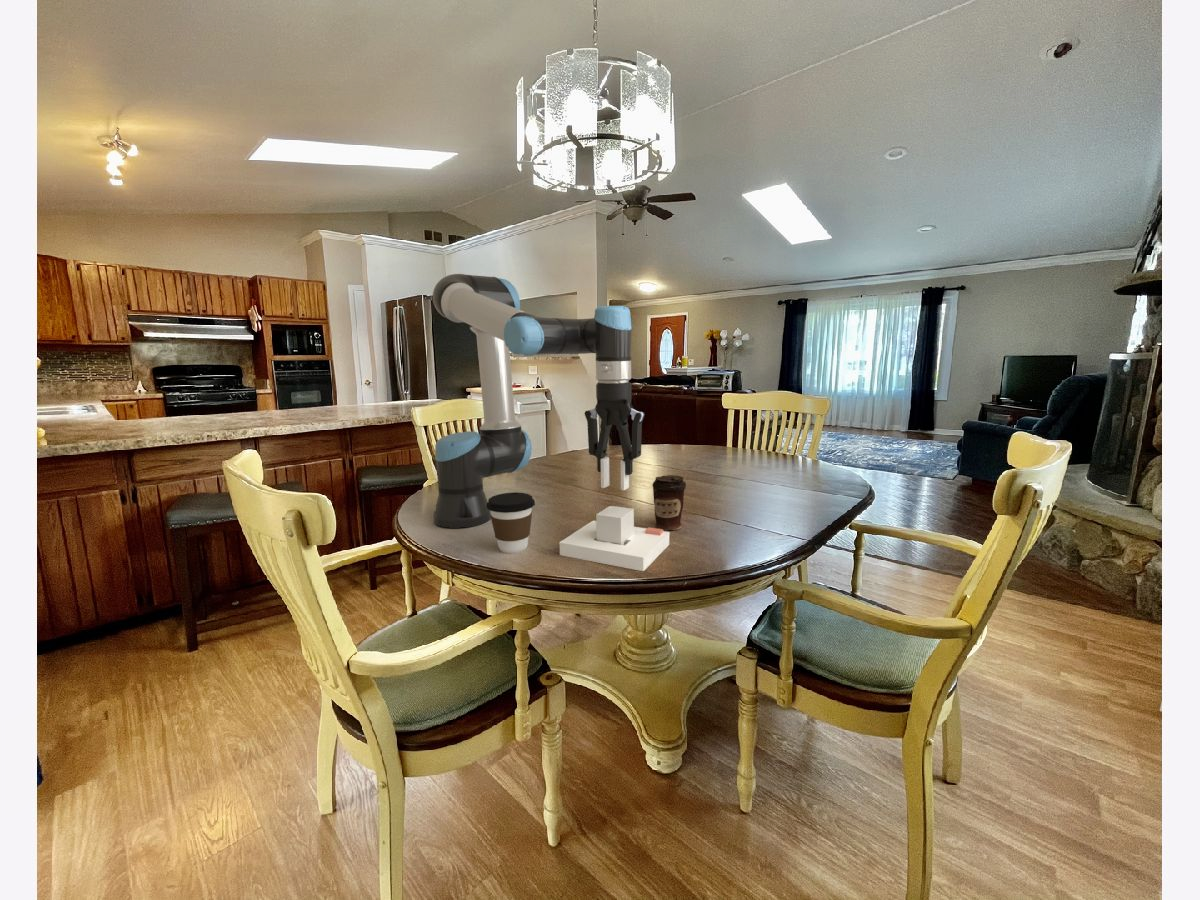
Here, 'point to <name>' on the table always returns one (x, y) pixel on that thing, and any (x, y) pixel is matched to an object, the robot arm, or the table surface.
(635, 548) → the socket plate
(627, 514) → the plug
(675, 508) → the coffee cup
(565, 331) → the robot arm
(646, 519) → the table surface
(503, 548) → the coffee cup
